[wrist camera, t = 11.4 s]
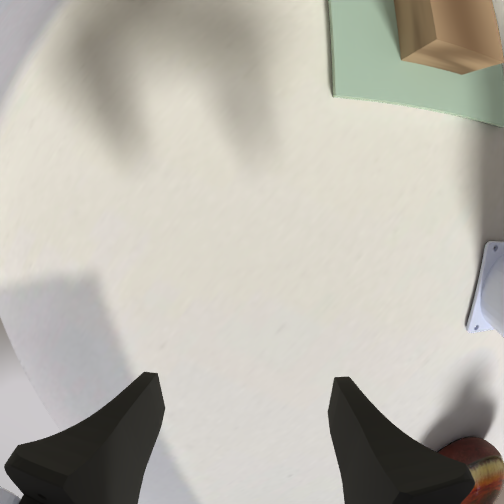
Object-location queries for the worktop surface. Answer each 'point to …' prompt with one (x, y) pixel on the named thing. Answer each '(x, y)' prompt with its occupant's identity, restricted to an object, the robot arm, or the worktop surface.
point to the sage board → (403, 68)
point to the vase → (479, 468)
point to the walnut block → (449, 34)
